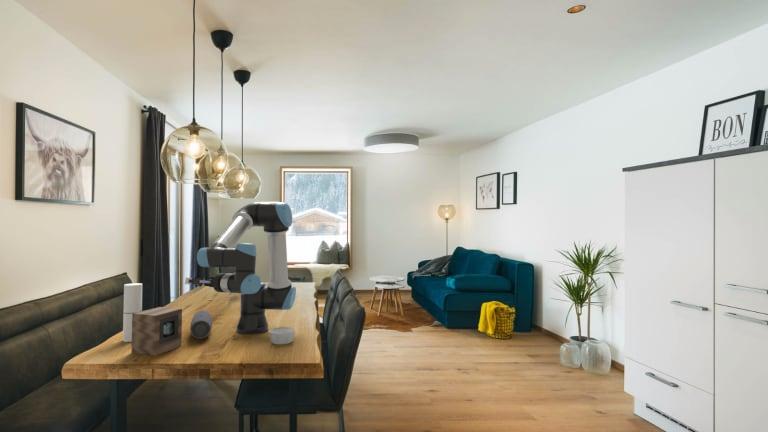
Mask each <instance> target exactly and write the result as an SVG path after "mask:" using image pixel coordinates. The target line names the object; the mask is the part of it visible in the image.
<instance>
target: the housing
mask: <svg viewBox="0 0 768 432" xmlns="http://www.w3.org/2000/svg"><path fill="white" fill-rule="evenodd" d="M182 322H183V308H175V307H166V306H165V307H164V306H158V307H155V308H153V307H152V308H150V309H147V310H146V309H145V310H142V311H141V312H137V313H133V314H132V342H131V354H136V355H137V354H139V355H146V356H152V357H153V356H158V355H160V354H164V353H166V352H169V351H171V350H174V349H177V348H180V347H182V339H183V338H182V335H183V334H182V333H183V332H182V331H183V330H182V329H183V327H182V325H183V323H182ZM164 323H172V324H173V326H174V329H173V332H172V333H171V334H170V335H164Z"/></svg>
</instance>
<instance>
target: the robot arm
mask: <svg viewBox="0 0 768 432" xmlns="http://www.w3.org/2000/svg"><path fill="white" fill-rule="evenodd" d="M292 224H293V213H292V209H291V207H290V205H289V204H288V203H287V202H280V201H255V202H250V203H249V204H247V205H244V206H243V207H241V208H239V209H238V210H237V211H236V212H235V213H234V214H233V215H232V218H231V221H230V223H229V224H228V225H227V226H226V228H225V229H224V230H223V231H222V232H221V233H220V235H219V236H218V237H217V238H216V239H215V241H214V242H213V243H212V244H211V245H210V246H209V247H208V246H207V247H201V248H200V249H199V250H198V251H197V254H196V261H197V264H198V266H200V267H203V268H234V273H231V272H230V273H225V272H222V273H221V272H220V273H218V274H216V275H215V276H214V277H213V276H210V277H205V278H203V277H200V278H199V277H198V276H194V277H185V279H184V280H185V282H184V285H193V286H196V285H197V286H198V287H202V286H204V287H209V288H213V290H214V291H215V292H217V293H228V294H229V295H233V294H239V295H240V316H239V318H238V321H237V324H236V329H235V330H236V333H237V334H242V335H255V334H260V333H265V332H267V331H268V330H269V323H268V320H267V316H266V310H270V311H271V310H273V311H275V310H276V311H286V310H287V311H289V310H291V309H292V308H293V306H294V304H295V301H296V299H295V298H296V295H297V294H296V293H297V291H296V290H297V289H296V286H295V285H292V280H290V279H289V271H288V252H287V251H288V250H287V235H286V234H287V232H289V228H290V227H291V226H292ZM253 227H263V232H264V233H265V234H266V235H267V247H268V249H267V250H268V263H269V282H267V284H266V282H262V280H261V277H260V276H259V275H258V274H256V266H257V263H256V262H257V246H256V244H254V243H248V242H243V243H242V242H241V243H239V241H241V238H242V237H243V236H244V234H245V233H246V232H247V231H249V230H251V229H252V228H253Z"/></svg>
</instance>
